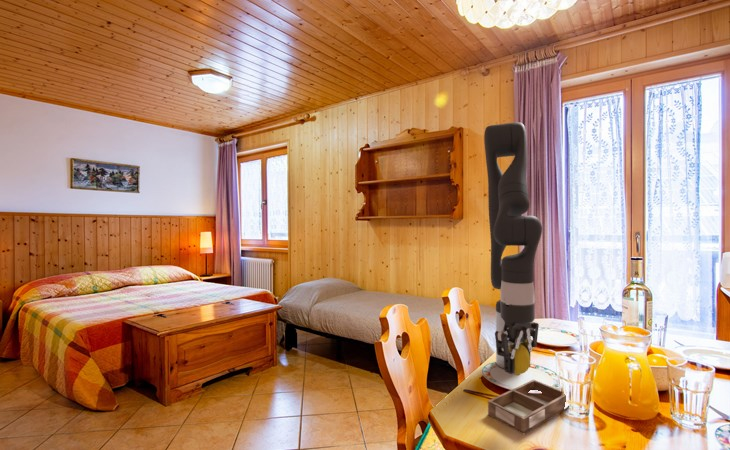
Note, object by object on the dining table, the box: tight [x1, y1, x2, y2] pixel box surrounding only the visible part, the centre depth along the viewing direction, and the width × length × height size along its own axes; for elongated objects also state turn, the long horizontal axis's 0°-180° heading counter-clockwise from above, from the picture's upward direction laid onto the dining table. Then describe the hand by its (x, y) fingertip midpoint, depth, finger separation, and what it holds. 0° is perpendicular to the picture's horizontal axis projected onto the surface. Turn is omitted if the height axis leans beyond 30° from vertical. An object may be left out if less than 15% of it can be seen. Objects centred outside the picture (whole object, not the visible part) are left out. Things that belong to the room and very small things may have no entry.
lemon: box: [509, 343, 531, 376], centre depth 91 cm, size 6×6×8 cm
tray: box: [487, 379, 566, 435], centre depth 94 cm, size 19×10×4 cm, turn 124°
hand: (517, 369), depth 91 cm, fingers closed on lemon, 5 cm apart
